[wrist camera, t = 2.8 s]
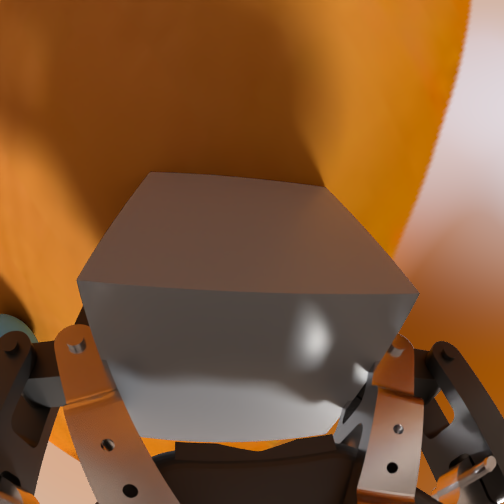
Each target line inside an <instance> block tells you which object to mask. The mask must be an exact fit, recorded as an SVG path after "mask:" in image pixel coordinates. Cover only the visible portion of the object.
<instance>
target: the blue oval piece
mask: <svg viewBox="0 0 504 504" xmlns="http://www.w3.org/2000/svg"><path fill="white" fill-rule="evenodd" d="M11 331H22V332H24V333H25V334H27V335H28V337H29V339H30V341H31V343H38V341H37V339H36V337H35V335H34V334H33V332H32V331H31V330H30V328H29V327H28V326H27V325H26V324H25V323H23V322H22V321H21V320H19V319H18V318H16V317H14V316H11V315H7V314H0V337H2V336H3V335H4V334H6V333H8V332H11Z"/></svg>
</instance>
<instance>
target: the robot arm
mask: <svg viewBox="0 0 504 504" xmlns="http://www.w3.org/2000/svg"><path fill="white" fill-rule="evenodd" d="M441 390H442V391H443V393H444V395H445V396H446V398H447V400H448V401H449V403H450V405H451V407H452V408H453V410H454V414H455V417H454V420H453V422H452V423H451V424H449V423H448V421H447V419H446V417H445V416H444V414H443V412H442V410H441V409H440V407H439V405H438V403H437V402H436V400H435V398H434V397H435V396H436V395H437V394H438V393H439V392H440V391H441ZM60 406H63V410H64V415H65V418H66V422H67V425H68V428H69V432H70V435H71V438H72V441H73V444H74V446H75V449H76V452H77V455H78V457H79V460H80V462H81V465H82V468H83V470H84V472H85V475H86V477H87V479H88V482H89V484H90V486H91V488H92V491H93V493H94V495H95V497H96V499H97V501H98V502H96V504H500V503H502V502H504V419H503V417H502V415H501V414H500V412H499V411H498V409H497V407H496V405H495V404H494V402H493V401H492V399H491V398H490V396H489V394H488V393H487V391H486V390H485V388H484V387H483V385H482V384H481V382H480V381H479V379H478V378H477V377H476V375H475V373H474V372H473V371H472V369H471V368H470V366H469V365H468V363H467V362H466V360H465V359H464V358H463V356H462V355H461V354H460V352H459V351H458V350H457V349H456V348H455V347H454V346H453V345H451V344H450V343H448V342H444V341H439V342H436V343H435V344H434V345H433V347H432V348H431V350H430V351H424V350H419V349H414V348H413V346H412V344H411V343H410V342H409V340H408V339H406V338H405V337H404V336H402V335H400V334H397V335H396V337H395V339H394V340H393V342H392V344H391V345H390V347H389V348H388V350H387V352H386V353H385V355H384V356H383V358H382V359H381V361H375V362H374V364H373V365H372V367H371V368H370V370H369V371H368V376H367V381H366V383H365V384H364V386H363V387H362V388H361V390H360V391H359V393H358V394H357V395H356V397H355V398H354V399H353V400H351V401H347V403H346V404H345V405H344V407H343V408H342V412H341V415H340V419H339V422H338V426H337V429H336V431H335V433H334V435H332V434H330V435H325V436H318V437H311V438H303V439H296V440H294V441H291V442H288V443H285V444H282V445H279V446H276V447H273V448H270V449H267V450H264V451H250V450H245V449H239V448H234V447H229V446H225V445H220V444H214V443H185V442H175V451H170V452H165V453H162V454H158V455H156V456H153V457H151V456H150V454H149V452H148V451H147V449H146V447H145V445H144V443H143V441H142V439H141V438H140V436H139V434H138V432H137V430H136V428H135V426H134V424H133V422H132V420H131V417H130V415H129V413H128V411H127V409H126V407H125V404H124V402H123V400H122V398H121V395H120V393H119V391H118V389H117V386H116V384H115V381H114V379H113V376H112V374H111V371H110V369H109V366H108V363H107V361H106V360H101V358H100V355H99V353H98V350H97V347H96V344H95V341H94V338H93V335H92V332H91V329H90V326H89V323H88V320H87V317H86V313H85V310H84V306H83V307H82V309H81V311H80V314H79V316H78V318H77V320H76V322H75V325H71V326H68V327H66V328H64V329H63V330H62V331H60V332H59V334H58V335H57V336H56V338H55V340H54V341H48V342H39V343H31V341H30V339H29V337H28V335H27V334H25V333H24V332H22V331H11V332H8V333H6V334H4V335H3V336H2V337H0V504H39V502H38V500H37V499H36V498H35V497H34V493H35V489H36V484H37V480H38V476H39V472H40V468H41V464H42V460H43V457H44V453H45V450H46V447H47V443H48V440H49V437H50V434H51V431H52V428H53V425H54V422H55V419H56V416H57V413H58V410H59V407H60ZM421 450H422V452H423V454H424V456H425V458H426V460H427V462H428V464H429V466H430V469H431V471H432V473H433V475H434V477H435V480H436V482H437V487H436V488H435V489H433V490H432V493H431V496H430V495H428V494H426V493H425V492H423V491H422V490H420V489H418V488H417V487H416V484H417V478H418V471H419V463H420V455H421Z"/></svg>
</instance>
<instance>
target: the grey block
mask: <svg viewBox="0 0 504 504" xmlns="http://www.w3.org/2000/svg"><path fill="white" fill-rule="evenodd" d="M77 284H78V288H79V292H80V296H81V299H82V303H83V306H84V310H85V313H86V317H87V320H88V323H89V326H90V329H91V332H92V335H93V338H94V341H95V344H96V347H97V350H98V353H99V355H100V358H101V360H106V361H107V363H108V366H109V369H110V371H111V374H112V376H113V379H114V381H115V384H116V386H117V389H118V391H119V393H120V395H121V398H122V400H123V402H124V404H125V407H126V409H127V411H128V413H129V415H130V417H131V420H132V422H133V424H134V426H135V428H136V430H137V432H138V434H139V436H140V437H147V438H155V439H166V440H178V441H197V442H249V441H267V440H280V439H290V438H298V437H307V436H314V435H321V434H326V433H327V432H328V431H329V429H330V428H331V427H332V426H333V425H334V423H335V422H336V421H337V420H338V419H339V417H340V415H341V412H342V408H343V407H344V405H345V404H346V403H347V401H351V400H353V399H354V398H355V397H356V395H357V394H358V393H359V391H360V390H361V388H362V387H363V386H364V384H365V383H366V381H367V376H368V371H369V370H370V368H371V367H372V365H373V364H374V362H375V361H381V359H382V358H383V356H384V355H385V353H386V352H387V350H388V348H389V347H390V345H391V344H392V342H393V340H394V339H395V337H396V335H397V334H398V332H399V330H400V329H401V327H402V325H403V323H404V321H405V320H406V318H407V316H408V314H409V313H410V311H411V309H412V307H413V305H414V303H415V302H416V299H417V298H418V296H419V292H418V291H417V289H416V288H415V287H414V286H413V284H412V283H411V282H410V281H409V279H408V278H407V277H406V276H405V274H404V273H403V272H402V271H401V270H400V269H399V267H398V266H397V265H396V264H395V262H394V261H393V260H392V259H391V258H390V256H389V255H388V254H387V253H386V252H385V251H384V249H383V248H382V247H381V246H380V245H379V244H378V243H377V241H376V240H375V239H374V238H373V237H372V236H371V235H370V234H369V233H368V231H367V230H366V229H365V228H364V227H363V226H362V225H361V224H360V223H359V222H358V220H357V219H356V218H355V217H354V216H353V215H352V214H351V213H350V212H349V211H348V210H347V209H346V208H345V207H344V206H343V205H342V204H341V203H340V201H339V200H338V199H337V198H336V197H335V196H334V195H333V194H332V193H331V192H330V191H329V190H328V189H327V188H326V187H321V186H313V185H306V184H298V183H290V182H282V181H273V180H264V179H254V178H243V177H232V176H220V175H206V174H190V173H170V172H150V173H149V174H148V175H147V176H146V178H145V179H144V180H143V182H142V183H141V184H140V185H139V187H138V188H137V189H136V191H135V192H134V193H133V195H132V196H131V197H130V199H129V200H128V202H127V203H126V204H125V206H124V207H123V208H122V210H121V211H120V213H119V214H118V216H117V217H116V218H115V220H114V221H113V223H112V224H111V226H110V227H109V229H108V230H107V232H106V233H105V235H104V236H103V238H102V239H101V241H100V242H99V244H98V245H97V247H96V249H95V250H94V252H93V253H92V255H91V257H90V258H89V260H88V261H87V263H86V265H85V266H84V268H83V270H82V271H81V273H80V275H79V276H78V278H77Z"/></svg>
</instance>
